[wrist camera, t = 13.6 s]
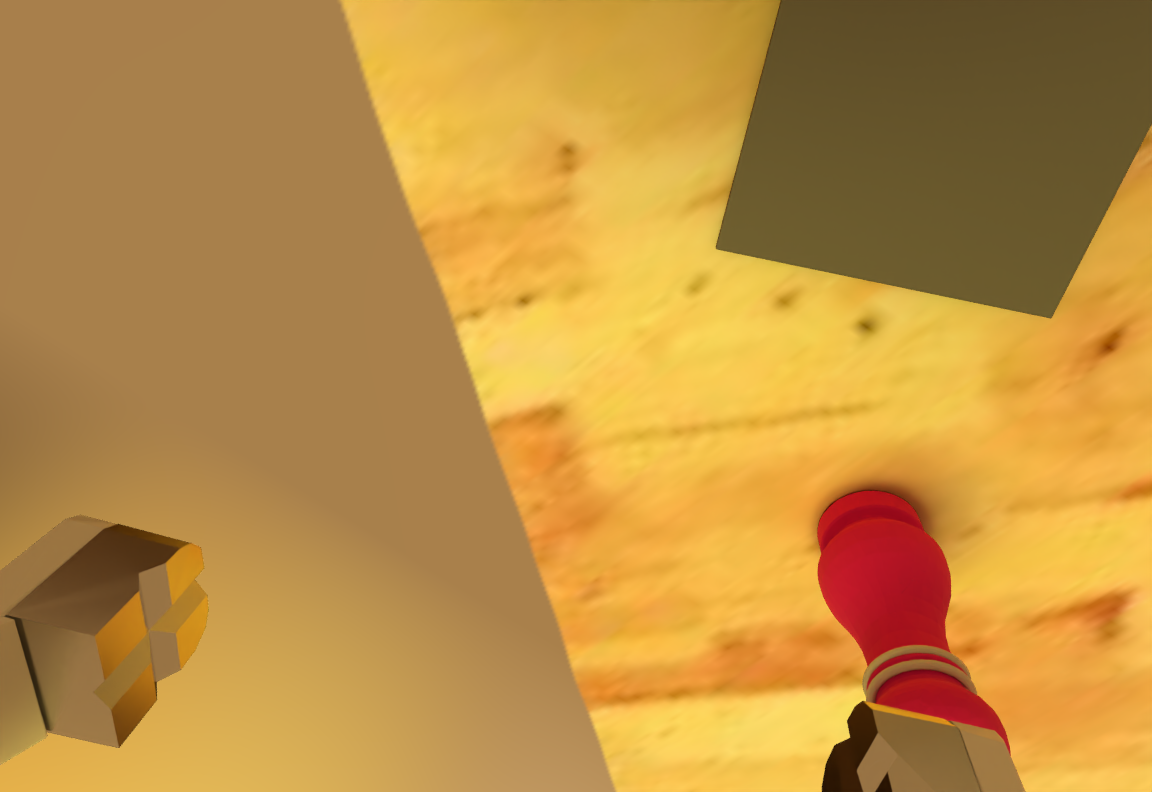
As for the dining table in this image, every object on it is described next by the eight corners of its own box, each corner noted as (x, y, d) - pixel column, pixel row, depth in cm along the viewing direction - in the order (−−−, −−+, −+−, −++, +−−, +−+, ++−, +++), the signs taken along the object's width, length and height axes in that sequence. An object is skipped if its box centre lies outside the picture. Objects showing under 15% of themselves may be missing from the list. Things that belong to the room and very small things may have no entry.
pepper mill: (951, 507, 46) (1104, 816, 28) (889, 588, 49) (991, 906, 32) (844, 466, 46) (931, 751, 28) (789, 549, 49) (836, 849, 32)
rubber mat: (1249, -79, 31) (1257, -80, 31) (1047, 315, 40) (1051, 318, 39) (821, -154, 32) (823, -156, 32) (715, 246, 41) (716, 249, 40)
